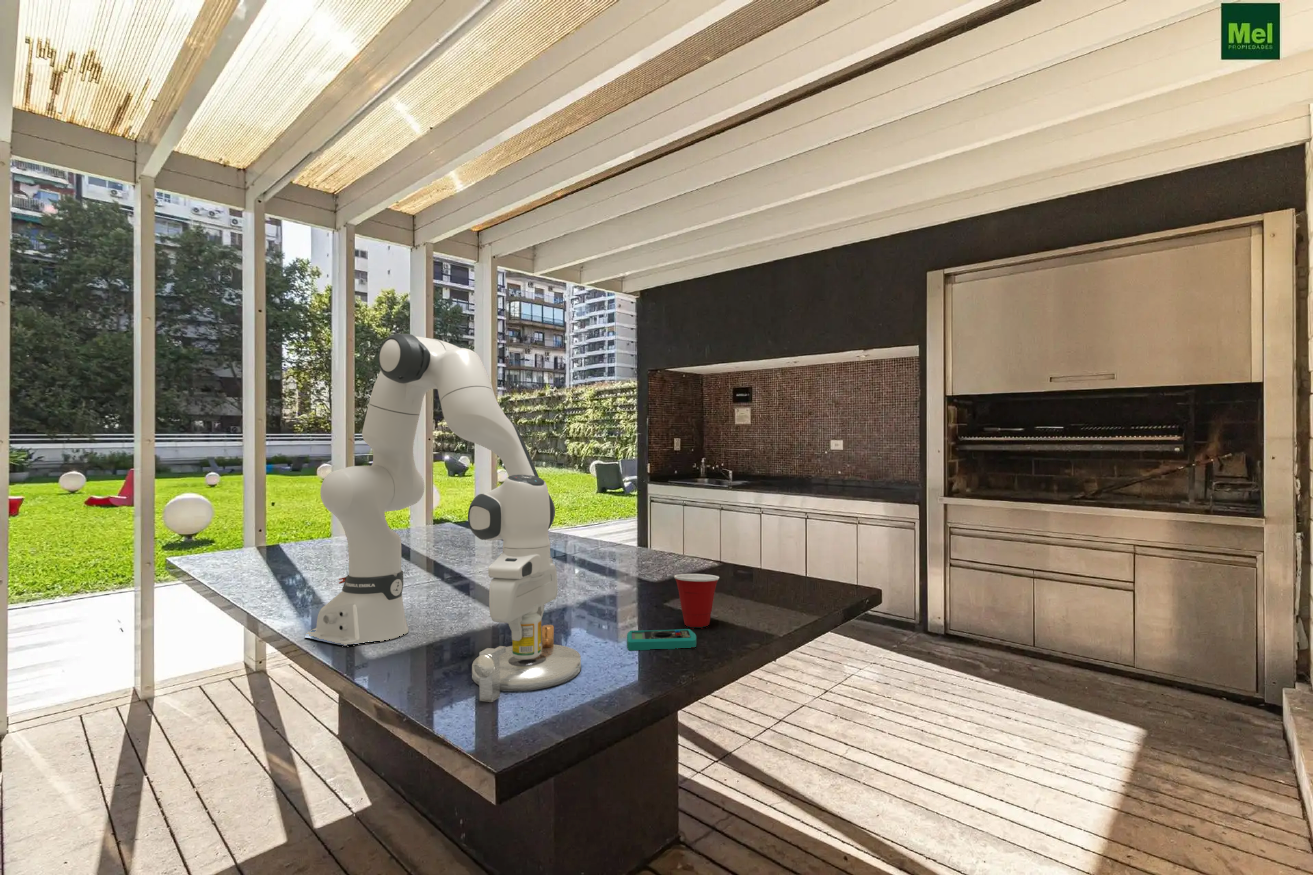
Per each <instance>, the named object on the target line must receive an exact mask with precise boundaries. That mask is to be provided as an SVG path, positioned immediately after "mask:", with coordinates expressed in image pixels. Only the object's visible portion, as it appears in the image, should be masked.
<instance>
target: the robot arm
mask: <svg viewBox="0 0 1313 875" xmlns="http://www.w3.org/2000/svg"><path fill="white" fill-rule="evenodd" d="M377 360H378V365H379V366H378V367H379V369H380V371H379V373H378V375H377V378H376V379H375V383H374V384H373V388H372V391H371V394H370V399H369V401H368V404H367V405H368V406H367V411H366V415H365V418H364V423H363V427H362V431H361V437H362V440H364V441H363V442H364V443H365V444H367V445H368V446H369V447H370V448H371V450H372V463H371V465H352V466H346V467H342V468H339V469H336V470H332V471H330V472H329V473H328V474H326V475H325V477H324V479H323V481H322V482H321V486H320V499H321V501H322V504H323V506H324V507H325V508H326V509H327V511H329V512H330V513H331V514H333V515H334V516H335V517H336V518H337V519H338V521H339V522H340V524H341V526H342V528H343V530H344V533H345V536H346V540H347V549H348V574H347V576H345V577H340V578H338V580H339V582H338V584H343V585H342V588H341V592H339V593H338V594H337V595H336V596H335V597H333V598H332V599H331V600H330V601H328V603H326V604H325V605H323V607H321V608H320V610H319V611H318V615H317V619H316V627H315V628H313V629H310V630H309V631H312V630H316V631H315V632H309V631H307V632H308V633H307V632H306V633H305V634H309V636H314V637H317V638H319V639H324V640H327V641H332V642H335V643H341V644H344V645H347V644H353V643H363V642H368V641H369V642H371V641H380V642H385V641H384V640H386V641H390V640H394V639H396V638H400V637H403V636H404V635H406V634H407V633H409V632H410V629H409V626H408V623H407V619H406V618H407V617H406V613H405V608H404V607H405V606H404V601H403V590H404V571H403V569H402V539H401V536H400V535H399V534H398V533H397V532H396V531H394V530H392V529H391V528H390V527H389V526H390V525H389V524H388V522H387V520H386V515H385V513H387V512H394V511H401V510H405V509H407V508H409V507H412V506H414V505H416V504H417V503H419V502H420V500H421V499H422V498H423V495H424V492H425V482H424V478H423V475H422V473H420V472H419V470H418V469H417V467H416V463H415V457H414V445H415V443H414V442H415V437H416V434H417V428H418V424H419V420H420V414H421V412H422V407H423V406H422V405H423V400H424V397H425V396H426V393H428V392H429V391H431V390H436V392H437V393H438V398H439V403H440V407H441V411H442V416H443V419H444V421H445V423H446V425H447V427H448V428H449V430H450V431H451V433H453V434H455V435H456V436H457V437H459V438H460V439H463V440H465V441H466V442H470V443H473V444H476V445H479V446H481V447H483V448H485V449H487V450H489V451H491V452H492V453H494V454H495V455H496V456H498V458H499V459H500V460H501V462H502V463H503V465H504V468H505V470H506V472H507V475H508V476H507V477H506V478H505V479H504V481H503V483H501V485H499V486H497V487H495V488H493V489H491V490H489V491H486V492H483V493H479V494H477V495H476V496H474V498H473V499H472V501H471V503H470V505H469V507H468V512H467V522H468V527H469V529H470V530H471V532H472V534H473V535H474V536H475V537H477V538H478V539H480V540H482V541H499V540H503V541H502V542H503V543H502V552H501V553H500V554H499V556H498V557H497V558H496V559H495V560H494V561H493V562H492V563H491V564H490V565H488V566H489V567H488V569H487V574H488V578H490V579H491V578H492V579H491V581H490V583H489V591H488V592H489V593H488V594H489V595H488V604H489V605H488V607H489V616H490V618H491V621H493V622H494V623H501V624H507V625H508V627H509V629H510V631H511V640H515V641H519V640H521V639H523V638H524V629H522V628H521V624H520V622H521V621H522V616H523V615H525V614H527V613H529V612H531V611H532V610H533V606H534V605H536V604H538V611H537V612H536V613H537V614H539V615H540V616H541V620H542V619H543V615H544V612H545V605H546V604H548V603H550V602H552V601H554V600H556V599H557V596H558V593H559V592H558V591H559V588H558V587H559V586H558V575H557V574H558V573H557V567H556V564H554V563H553V558H552V557H551V541H550V536H549V529H550V528H551V526H552V525H553V523H554V521H555V518H556V508H555V506H556V505H555V503H554V501H553V499H552V497H551V495H550V493H549V489H548V486H547V485H548V484H547V483H546V481H545V480H544V479H542V478H541V477H540V476H539V474H538V472H537V469H536V467H535V465H534V462H533V460H532V458H531V455H530V453H529V450H528V448H527V445H526V443H525V441H524V438H523V437H522V435H521V432H520V431H519V429H518V427H517V426H516V424H514V423H513V422H512V421H511V420H510V419H509V418H508V417H507V415H506V414H505V413H504V411H503V409H502V408H501V406H500V404H499V403H498V400H497V397H496V395H495V392H494V388H493V385H492V382H491V379H490V376H489V374H488V372H487V369H486V367H485V365H484V362H483V361H482V359H481V357H480V355H479V354H478V353H477V352H475V351H473V350H472V349H470V348H465V347H463V346H461V345H457V344H452V343H449V342H447V341H444V340H441V339H437V338H429V337H424V336H419V335H418V336H417V335H413V334H411V333H393V334H391V335H389V336H388V337H386V338H385V340H384V341H383V342H382V344H381V345H380V347H379V350H378V357H377ZM310 634H311V635H310ZM403 634H404V635H403ZM399 636H400V637H399ZM389 639H390V640H389Z"/></svg>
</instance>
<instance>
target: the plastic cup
mask: <svg viewBox="0 0 1313 875" xmlns="http://www.w3.org/2000/svg"><path fill="white" fill-rule="evenodd" d="M673 577H674V579H675V581H676V585H677V586H676V587H677V589H678V596H679V602H680V608H681V612H682V616H683V617H682V618H683V623H684V626H685V625H686V626H690V627H703V626H708V625H710V622H711V616H712V615H711V614H712V612H713V604H714V599H715V598H714V597H715V592H716V587H717V583H718V581H719V579H720V576H719V575H713V574H705V573H681V574H675V575H673ZM686 626H685V627H686ZM708 627H709V626H708Z"/></svg>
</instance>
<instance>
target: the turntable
mask: <svg viewBox="0 0 1313 875" xmlns="http://www.w3.org/2000/svg"><path fill="white" fill-rule="evenodd" d="M554 628H555V626H554V625H553V624H544V625H541V654H540V655H539V656H538V657H536V658H532V659H517V658H515V657H513V654H512V645H509V646H506V652H505V653H504V654H502V655H500V691H503V692H507V691H508V692H524V691H533V690H540V689H545V688H550V687H554V686H557V685H561V684H564V683H566V682H568V681H570V680H571V679H573V678H575V677H576V676H578V674H580V671H581V668H582V661H581V660H582V658H581V654H580V652H579V651H578V650H576V649H574V648H572V647H570V646H565V645H560V644H555V642H554V641H555V635H554V634H555V633H554V632H555V629H554ZM474 661H475V659H474V660H473V661H472V664H471V679H472V680H473V682H474V683H475V684H477V685H478V686H480V676H478V675H477V674H476V672H475V670H474Z"/></svg>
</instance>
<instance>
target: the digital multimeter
mask: <svg viewBox="0 0 1313 875" xmlns="http://www.w3.org/2000/svg"><path fill="white" fill-rule="evenodd" d="M626 646H627V650H628V651H629V652H632V651H633V652H635V651H636V652H637V651H638V650H640V651H651V650H650V649H668V650H679V649H678V648H691V647H697V635H696V633H695V632H694V631H693V630H691V628H684V629H683V628H682V629H681V628H680V629H657V630H656V629H652V630H648V629H647V630H642V629H641V630H640V629H639V630H630V631H628V632H627V633H626ZM675 648H677V649H675Z"/></svg>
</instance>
